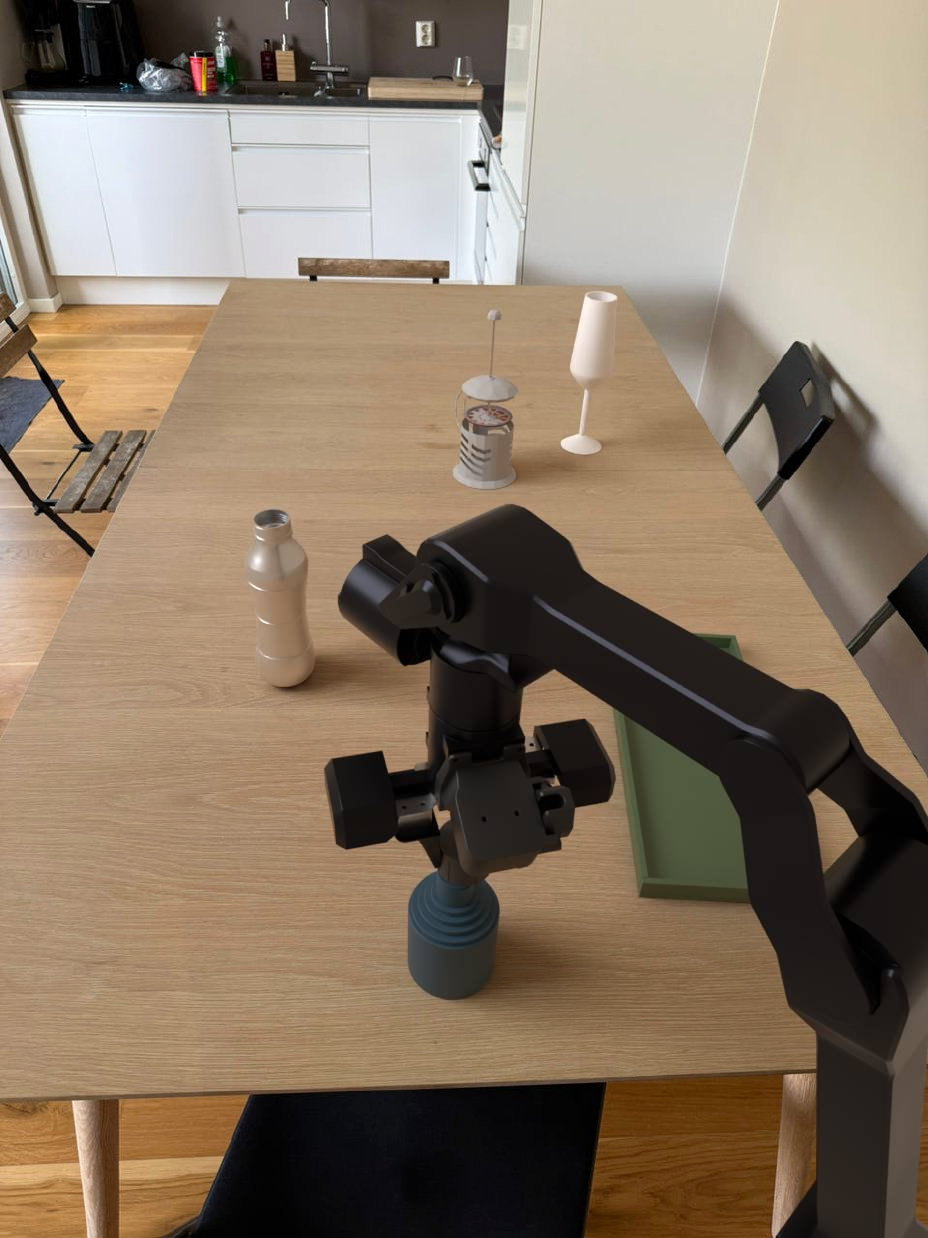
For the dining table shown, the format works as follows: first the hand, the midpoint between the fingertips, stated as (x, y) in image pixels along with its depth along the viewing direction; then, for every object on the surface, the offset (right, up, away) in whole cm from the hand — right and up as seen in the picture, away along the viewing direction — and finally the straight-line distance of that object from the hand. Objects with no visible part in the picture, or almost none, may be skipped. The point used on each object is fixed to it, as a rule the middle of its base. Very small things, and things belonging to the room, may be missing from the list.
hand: (464, 857), depth 64 cm
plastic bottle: (-20, +11, +34) cm, 41 cm away
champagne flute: (+19, +45, +81) cm, 95 cm away
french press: (+3, +40, +73) cm, 83 cm away
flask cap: (0, +1, -1) cm, 2 cm away
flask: (-1, -10, +8) cm, 13 cm away
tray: (+23, +3, +27) cm, 36 cm away
